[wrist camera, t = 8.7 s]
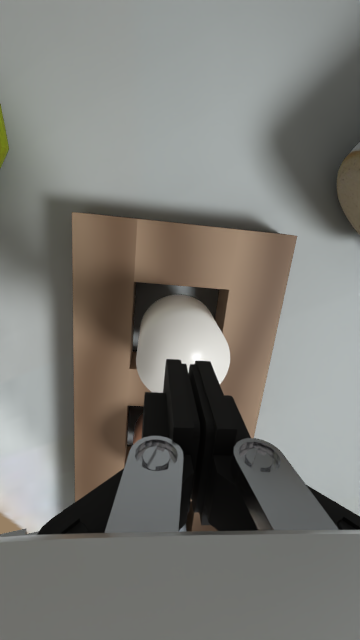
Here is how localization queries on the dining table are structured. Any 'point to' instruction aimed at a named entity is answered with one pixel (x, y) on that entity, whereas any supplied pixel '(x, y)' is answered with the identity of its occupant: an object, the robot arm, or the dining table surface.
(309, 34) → the dining table surface
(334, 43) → the dining table surface
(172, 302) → the white egg
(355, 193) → the ceramic mug
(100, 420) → the walnut board
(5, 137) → the fruit
